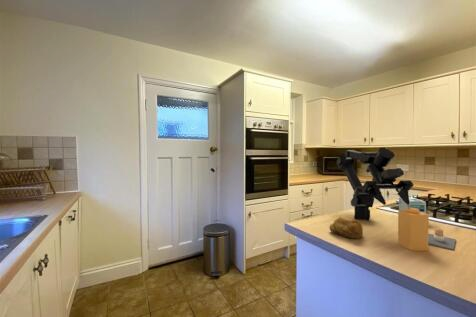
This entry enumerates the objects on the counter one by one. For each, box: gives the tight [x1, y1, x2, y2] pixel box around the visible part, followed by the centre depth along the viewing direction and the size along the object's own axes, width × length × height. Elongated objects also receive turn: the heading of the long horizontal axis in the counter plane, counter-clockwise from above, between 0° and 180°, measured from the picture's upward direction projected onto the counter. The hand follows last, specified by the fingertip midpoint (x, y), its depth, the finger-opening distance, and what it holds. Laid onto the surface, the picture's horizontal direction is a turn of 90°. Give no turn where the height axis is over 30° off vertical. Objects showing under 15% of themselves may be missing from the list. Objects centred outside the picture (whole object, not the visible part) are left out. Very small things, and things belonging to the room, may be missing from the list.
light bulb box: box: [398, 196, 427, 214], centre depth 105 cm, size 11×7×11 cm, turn 168°
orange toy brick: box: [397, 208, 430, 251], centre depth 77 cm, size 6×6×14 cm
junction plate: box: [428, 227, 457, 251], centre depth 80 cm, size 12×8×5 cm
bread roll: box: [329, 217, 364, 240], centre depth 89 cm, size 13×10×8 cm
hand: (396, 204), depth 84 cm, fingers open, 9 cm apart
